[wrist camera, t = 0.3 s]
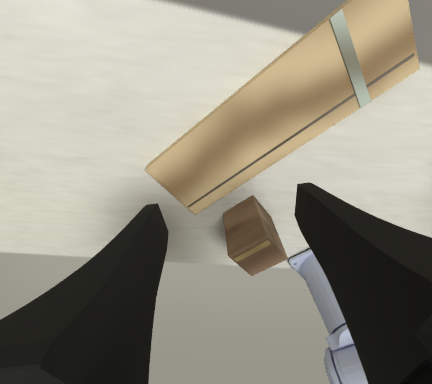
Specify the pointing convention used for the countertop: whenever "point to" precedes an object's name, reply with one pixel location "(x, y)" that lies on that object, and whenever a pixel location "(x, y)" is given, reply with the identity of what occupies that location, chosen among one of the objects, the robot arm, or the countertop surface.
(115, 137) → the countertop surface
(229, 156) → the oak board
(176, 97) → the countertop surface
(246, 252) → the block
